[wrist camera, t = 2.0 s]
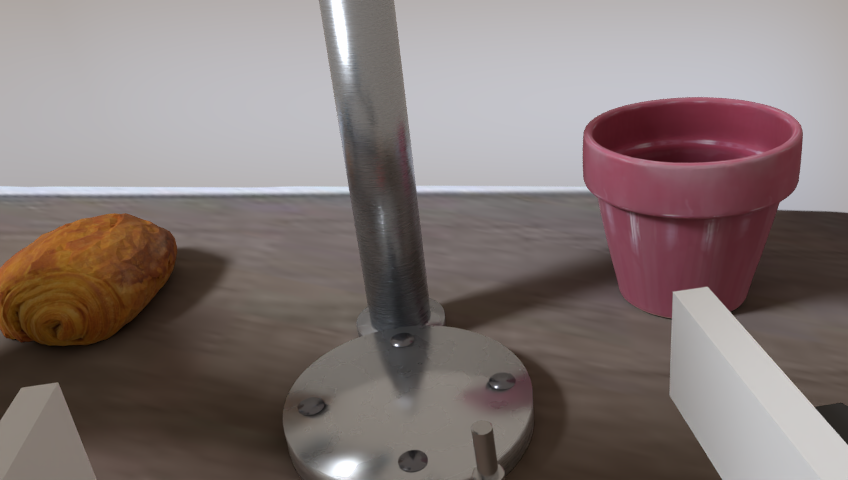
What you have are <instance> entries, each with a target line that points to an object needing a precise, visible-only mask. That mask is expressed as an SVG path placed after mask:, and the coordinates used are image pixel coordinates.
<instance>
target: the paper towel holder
mask: <svg viewBox="0 0 848 480" xmlns="http://www.w3.org/2000/svg"><path fill="white" fill-rule="evenodd" d="M319 3H320V10H321V16H322V22H323V28H324V35H325V41H326V47H327V53H328V59H329V66H330V71H331V78H332V83H333V90H334V97H335V103H336V110H337V116H338V122H339V128H340V135H341V140H342V147H343V153H344V159H345V166H346V172H347V178H348V184H349V191H350V197H351V203H352V210H353V216H354V222H355V228H356V235H357V241H358V247H359V253H360V260H361V266H362V272H363V278H364V285H365V291H366V297H367V303H368V307H366V308H365V309H364V310H363V311H362V312H361V313H360V315H359V316H358V319H357V329H358V335H359V337H358V338H356V339H353V340H351V341H348V342H346V343H344V344H342V345H340V346H338V347H336V348H334V349H332V350H331V351H329V352H328V353H326V354H324V355H323V356H321V357H320V358H319V359H317V360H316V361H315V362H313V363H312V364H311V365H310V366H309V367H308V368H307V369H306V370H305V371H304V372H303V373H302V374H301V375H300V376H299V378H298V379H297V380H296V381H295V383H294V385H293V386H292V388H291V389H290V391H289V393H288V396H287V398H286V400H285V404H284V409H283V427H284V432H285V436H286V441H287V445H288V449H289V453H290V457H291V460H292V463H293V465H294V468H295V470H296V471H297V473H298V474H299V476H300V477H301V479H302V480H473V477H472V472H473V470H474V468H475V467H476V459H475V452H474V446H473V439H472V433H471V426H472V425H473V424H474V423H475V422H477V421H480V420H485V421H488V422H490V423H491V424H492V426H493V433H494V441H495V448H496V455H497V463H498V464H500V465H501V466H502V467H503V469H504V472H505V476H506V475H507V474H508V473H509V472H510V471H511V470H512V469H513V468H514V467H515V466H516V464H517V463H518V462H519V461H520V460H521V458H522V456H523V455H524V453H525V451H526V450H527V448H528V445H529V443H530V440H531V438H532V433H533V428H534V409H533V389H532V384H531V379H530V377H529V374H528V372H527V370H526V368H525V367H524V365H523V364H522V362H521V361H520V360H519V359H518V358H517V357H516V355H515V354H514V353H513V352H511V351H510V350H509V349H507V348H506V347H505V346H503V345H502V344H500V343H498V342H497V341H495V340H493V339H491V338H488V337H486V336H484V335H481V334H478V333H475V332H472V331H468V330H464V329H459V328H454V327H446V322H445V312H444V309H443V307H442V306H441V305H440V304H439V303H438V302H437V301H435V300H433V299H431V298H429V294H428V286H427V277H426V269H425V260H424V252H423V243H422V235H421V226H420V218H419V209H418V201H417V192H416V184H415V176H414V168H413V158H412V150H411V141H410V133H409V125H408V116H407V107H406V100H405V90H404V82H403V73H402V65H401V56H400V48H399V39H398V31H397V22H396V14H395V5H394V0H319Z"/></svg>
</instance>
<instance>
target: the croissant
mask: <svg viewBox="0 0 848 480" xmlns="http://www.w3.org/2000/svg"><path fill="white" fill-rule="evenodd" d="M176 255H177V245H176V241H175V238H174V237H173V235H172V234H171V232H170V231H168V230H166V229H164V228H161V227H158V226H157V225H155V224H153V223H152V222H150V221H146V220H143V219H140V218H137V217H135V216H132V215H129V214H126V213H125V214H106V215H101V216H97V217H92V218H85V219H80V220H78V221H75V222H73V223H68V224H65V225H63V226H61V227H58V228H57V229H56V230H53V231H51V232H48V233H45V234H43V235H41V236H40V237H39V238H38V239H36V240H35V241H34V242H33V243H31V244H30V245H29V246H28V247H26V248H24V249H22V250H20V251H19V252H18V253H16V254H15V255H14V256H12V257H11V258H10V259H9V260H8V261H7V262H6V263H5V264H4V265H3V266H2V267H1V268H0V330H1V331H2V333H3V335H4V336H5V337H6V338H10V339H17V340H18V341H20V342H21V343H22V342H30V341H33V340H34V341H36V342H38V343H40V344H47V345H50V346H51V345H58V346H67V345H89V344H92V343H96V342H98V341H101V340H106V339H108V338H109V337H111V336H112V335H113V334H115V333H116V332H117V331H118V330H120V329H121V328H122V327H123V326H124V325H125V324H127V323H129V322H130V321H132V320H133V319H134V318H135V317H136V316H137V315H138V314H139V313H140V312H141V311H142V310H143V308H144V307H145V306H146V305H147V304H148V303H149V302H150V301H151V299H152V298H153V297H154V296H155V295H156V294H157V292H158V291H159V290H160V288H162V287H163V286H164V284H165V283H166V282H167V280H168V279H169V277H170V275H171V273H172V271H173V268H174V265H175V260H176Z"/></svg>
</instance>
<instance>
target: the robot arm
mask: <svg viewBox="0 0 848 480" xmlns="http://www.w3.org/2000/svg"><path fill="white" fill-rule="evenodd" d="M670 397H671V398H672V400H673V402H674V403H675V405H676V406H677V408H678V410H679V411H680V413H681V414H682V416H683V418H684V419H685V421H686V422H687V424H688V426H689V427H690V429H691V430H692V432H693V434H694V435H695V437H696V438H697V440H698V442H699V443H700V445H701V446H702V448H703V450H704V451H705V453H706V454H707V456H708V458H709V459H710V461H711V462H712V464H713V466H714V467H715V469H716V470H717V472H718V474H719V475H720V477H721V478H722V480H848V406H846V405H844V404H843V403H837V404H831V405H824V406H817V407H814V406H813V405H812V404H811V403H810V402H809V401H808V399H807V398H806V397H805V396H804V395H803V394H802V393H801V392H800V390H799V389H798V388H797V387H796V386H795V385H794V384H793V383H792V381H791V380H790V379H789V378H788V377H787V376H786V375H785V373H784V372H783V371H782V370H781V369H780V368H779V367H778V366H777V364H776V363H775V362H774V361H773V360H772V359H771V358H770V357H769V355H768V354H767V353H766V352H765V351H764V350H763V349H762V347H761V346H760V345H759V344H758V343H757V342H756V341H755V340H754V338H753V337H752V336H751V335H750V334H749V333H748V332H747V331H746V329H745V328H744V327H743V326H742V325H741V324H740V323H739V321H738V320H737V319H736V318H735V317H734V316H733V315H732V314H731V312H730V311H729V310H728V309H727V308H726V307H725V306H724V305H723V303H722V302H721V301H720V300H719V299H718V298H717V297H716V295H715V294H714V293H713V292H712V291H711V290H710V289H709V288H708V287H702V288H695V289H688V290H681V291H675V292H673V302H672V333H671V364H670ZM0 480H97V479H96V477H95V474H94V472H93V469H92V467H91V464H90V462H89V459H88V456H87V454H86V451H85V449H84V446H83V444H82V441H81V439H80V436H79V434H78V431H77V429H76V426H75V424H74V421H73V419H72V416H71V413H70V411H69V408H68V406H67V403H66V401H65V398H64V396H63V393H62V391H61V388H60V386H59V383H58V382H57V383H50V384H43V385H37V386H30V387H23V388H21V389H20V391H19V392H18V394H17V395H16V397H15V398H14V400H13V402H12V403H11V405H10V406H9V408H8V409H7V411H6V413H5V414H4V416H3V417H2V419H1V420H0Z"/></svg>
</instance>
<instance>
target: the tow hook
mask: <svg viewBox="0 0 848 480" xmlns="http://www.w3.org/2000/svg"><path fill="white" fill-rule="evenodd" d="M471 433H472V439H473V446H474V452H475V459H476V467H475V468H474V470H473V472H472V477H473V480H506V479H505V472H504V469H503V467H502V466H501V465H500V464H498V463H497V455H496V448H495V441H494V433H493V426H492V424H491V423H490V422H488V421H485V420H480V421H477V422H475V423H474V424H473V425H472V426H471Z"/></svg>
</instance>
